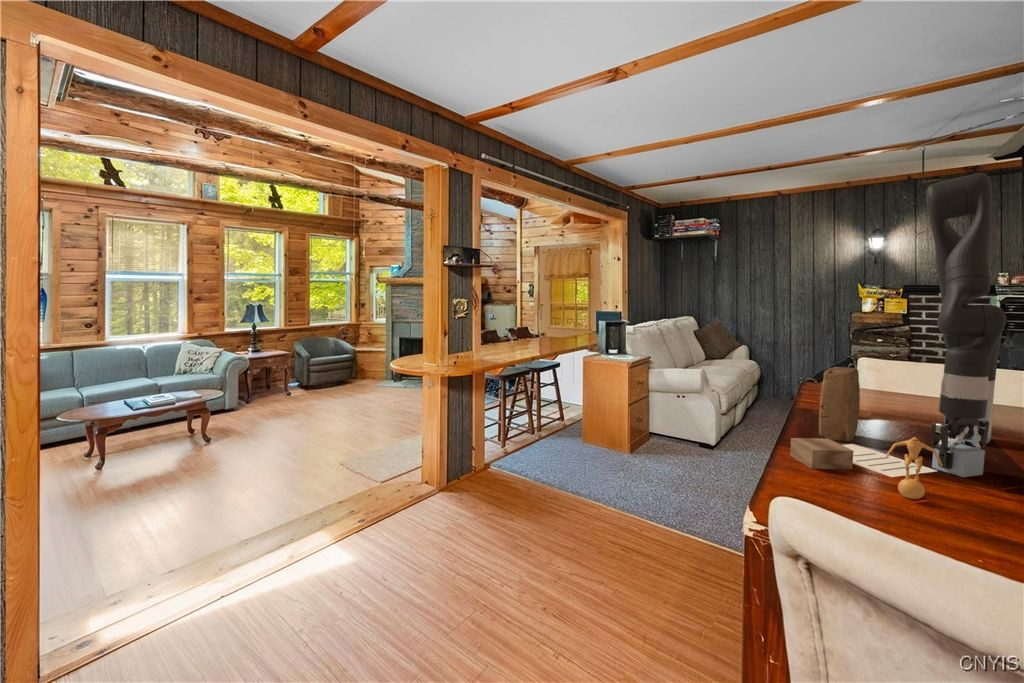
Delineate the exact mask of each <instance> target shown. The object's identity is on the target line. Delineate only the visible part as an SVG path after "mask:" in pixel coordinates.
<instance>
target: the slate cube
mask: <svg viewBox="0 0 1024 683" xmlns="http://www.w3.org/2000/svg"><path fill="white" fill-rule="evenodd" d="M949 445H950V443H948V447H949ZM933 449H934V448H933ZM934 450H935V451H936V452H937V455H938V456H939V450H937V449H934ZM985 456H986V450H985V449H981V448H980V449H978V448H974V447H970V446H967V445H963V443H960V445H957V446H956V447H955V449H954V451H953V461H952V469H944V468H941V467H939V466H938V460H937V459H936V457H935V455H934V453H933V452H932V462H931V469H934V470H937V471H942V472H945V473H948V474H951V475H955V476H958V477H961V478H968V477H975V476H983V474H984V467H985V466H984V465H985Z"/></svg>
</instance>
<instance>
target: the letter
mask: <svg viewBox="0 0 1024 683" xmlns="http://www.w3.org/2000/svg"><path fill="white" fill-rule="evenodd" d="M842 445H843V446H845V447H847V448H849V449H851V450H853V464H854V465H857V466H860V467H863V468H865V469H868V470H871V471H874V472H875V473H879V474H882V475H885V476H887V477H890V478H895V477H901V476H904V477H905V476H906V470H905V467H906V466H905V463H904V461H905V459H902V458H899V457H895V456H893V455H890V456H889V457H888V456H887V458H886V455H887V453H883V452H880V451H877V450H873V449H872V448H867V447H864V446H861V445H858V444H856V443H849V444H842ZM908 467H909V468H910V470H909V476H911V475H915V474H916V469H918V468H917V465H915V462H912V463H911V464H909V466H908ZM934 472H938V469H935V468H932V467H931V468H930V467H927V466H924V465H922V467H921V469H920V472H919V475H920V474H926V473H927V474H928V473H934Z"/></svg>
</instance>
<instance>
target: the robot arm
mask: <svg viewBox="0 0 1024 683" xmlns="http://www.w3.org/2000/svg"><path fill="white" fill-rule="evenodd" d="M925 202H926V209H927V214H928V218H929V223H930V228H931V232H932V236H933V241H934V248H935V261H936V262H935V263H936V271H937V274H936V275H937V280H938V285H939V286H938V287H939V290H940V296H941V297H940V298H941V304H942V307H941V309H940V312H939V314H938V317H937V322H936V323H937V324H936V325H937V328H938V330H939V331H940V333H942V334H943V342H944V346H945V347H946V352H945V356H944V357H945V358H944V367H943V368H944V369H943V376H942V379H941V385H940V394H939V395H940V396H939V407H938V411H939V412H940V414H942V415H943V416H944V420H943V421H942V422H941V423H940V422H932V424H931V437H930V438H931V439H930V442H931V443H930V446H931V448H933V449H937V450H939V458H940V460H941V462H942V467H941V466H940V464H938V466H939V467H941V468H944V469H952V461H953V451H954V449H955V447H956V446H957V445H960V444H963V445H967V446H970V447H974V448H978V449H981V448H982V447H983V448H985V447H986V446H987V444H989V443H990V442H991V440H992V439H991V438H992V429H993V419H994V410H995V409H994V406H993V405H994V397H995V396H994V395H995V389H996V388H995V386H996V377H997V369H998V368H997V367H998V359H999V353H1000V348H1001V342H1002V335H1003V331H1004V330H1005V326H1006V325H1007V316H1006V313H1005V311H1004V310H1003V308H1001V307H1000V306H998V305H992V304H991V305H990V304H970V303H972V302H973V301H974V300H975V299H977V298H981V297H984V296H986V295H988V294H989V293H990V291H991V275H990V273H991V272H990V261H989V258H990V257H989V246H990V240H991V239H990V238H991V232H992V230H991V229H992V218H993V215H992V214H993V186H992V182H991V179H990V177H989V175H988V174H986V173H984V172H981V173H980V172H977V173H973V174H969V175H965V176H964V175H963V176H959V177H955V178H950V179H948V180H947V179H946V180H942V181H938V182H934V183H932V184H930V185H929V186H928V187H927V189H926V193H925ZM967 216H972V220H971V223H970V225H969V227H968V229H967V231H966V232H965V233H964V235H963V236H962V235H960V233H958V231H956V230H955V228H954V227H953V225H952V224H951V223H950V220H949V219H956V218H962V217H967ZM939 412H938V413H939ZM938 440H939V442H938ZM948 443H950V445H949V447H948ZM938 463H939V461H938Z"/></svg>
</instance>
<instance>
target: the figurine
mask: <svg viewBox="0 0 1024 683" xmlns="http://www.w3.org/2000/svg"><path fill="white" fill-rule="evenodd" d="M901 446H906V447H907V451H908V453H905V454H904V460H905V461H904V463H905V466H906V467H905V470H906V475H905V476H904V477H905V478H904V479H901V480H900V481H899V483H898V485H897V489H898V492H899V494H900V495H901V496H903V497H904V498H906V499H910V500H920V499H921V498H923V497H924V496H925V493H926V489H925V486H924V484H922V482H921V481H920V480H919V478H920V476H919V475H920V474H919V472H920V469H921V467H922V466H923V458H924V457H923V456H921V455H920V456H919V454H920V453H921V451H922V449H926V450H928V451H929V452H932V454H933V453H934V455H935V457H936V459H937V460H938V461H939V463H938V464H940V466H941V467H942V462H941V460H940V458H939V456H938V455H937V452H936V451H935V450H934V448H932V447H930V446H928V445H927V444H925V443H923V442H921V441H920V440H919V439H918V438H917V437H916V436H913V437H912V438H910V439H909V440H903V441H900V442H895V443H893V444H892V446H891V447H890V449H889V450H888V451H887V453H886V454H887V455H886V458H887V456H888V457H889V456H891V454H890V453H892V452H893V450H894V449H895V448H896V447H901ZM913 461H914V463H915V465H917V468H918V469H916V474H914V475H915V477H914V478H910V475H909V470H910V468H909V467H908V466H909V464H911V463H913Z"/></svg>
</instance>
